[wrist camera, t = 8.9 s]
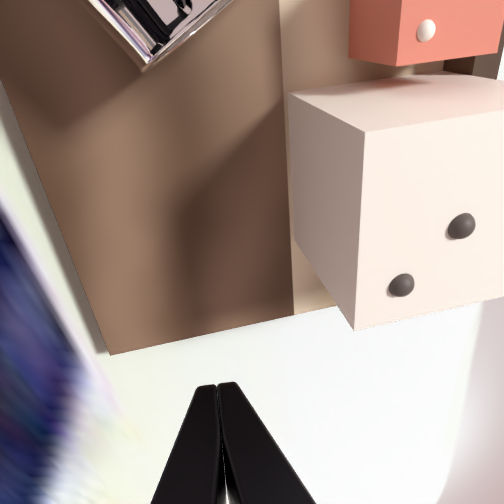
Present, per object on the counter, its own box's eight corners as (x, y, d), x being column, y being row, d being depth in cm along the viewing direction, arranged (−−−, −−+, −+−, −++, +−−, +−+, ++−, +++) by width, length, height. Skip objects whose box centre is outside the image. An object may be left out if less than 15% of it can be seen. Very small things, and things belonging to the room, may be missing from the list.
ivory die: (293, 239, 21) (358, 338, 15) (287, 92, 17) (371, 135, 11) (420, 214, 22) (535, 296, 16) (441, 70, 18) (605, 98, 12)
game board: (111, 341, 23) (106, 382, 21) (-28, -25, 14) (-70, -36, 11) (418, 275, 26) (448, 303, 24) (470, -69, 17) (531, -87, 14)
